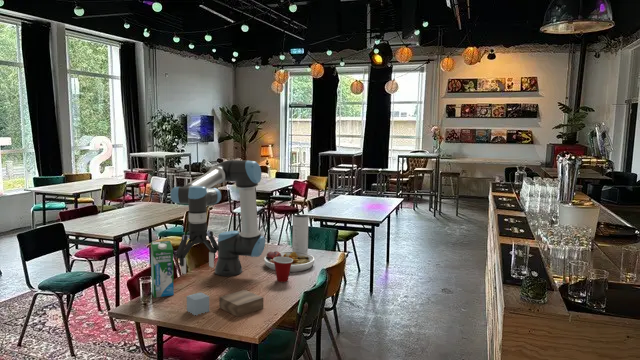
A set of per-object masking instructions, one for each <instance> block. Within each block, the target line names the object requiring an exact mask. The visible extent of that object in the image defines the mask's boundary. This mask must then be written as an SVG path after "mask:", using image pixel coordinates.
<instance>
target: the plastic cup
mask: <svg viewBox="0 0 640 360" xmlns="http://www.w3.org/2000/svg"><path fill="white" fill-rule="evenodd" d="M273 260H274V264H275V270H276V271H275V270H274V271H275V275H276V280H277V282H279V283H285V282H288V281H289V276H290V273H291V272H290V267H291V264H292V262H293V259H291V258H288V257H275V258H273Z"/></svg>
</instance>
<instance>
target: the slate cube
mask: <svg viewBox="0 0 640 360" xmlns="http://www.w3.org/2000/svg"><path fill="white" fill-rule="evenodd" d="M187 311H188V313H189V312H190V313H189V314H191V313H192V314H191V315H193V316H195V315H196V316H199V315H198V314H200V315H202V314H201V313H203V314H205V312H206V313H209V312H210V296H209V295H208V294H205V293H203V292H202V291H200V292H196V293H192V294H190V295H186V312H187Z"/></svg>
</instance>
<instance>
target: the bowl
mask: <svg viewBox="0 0 640 360" xmlns="http://www.w3.org/2000/svg"><path fill="white" fill-rule="evenodd" d="M275 257H288V258H291V259H293V262H292V264H291V267H290V273H297V272H303V271H305V270H308V269H310V268H312V267H313V265H314V263H315V257H314V256H313V255H311V254H309V253H308V254H306V253H301V252H292V251H278V250H275V251H269V252H268V253H267V254H266V255H265V256H264V258H263V261H264V265H265V267H267V268H268V269H270V270H272V271H275V272H276V270H275V264H274V260H273V258H275Z"/></svg>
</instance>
